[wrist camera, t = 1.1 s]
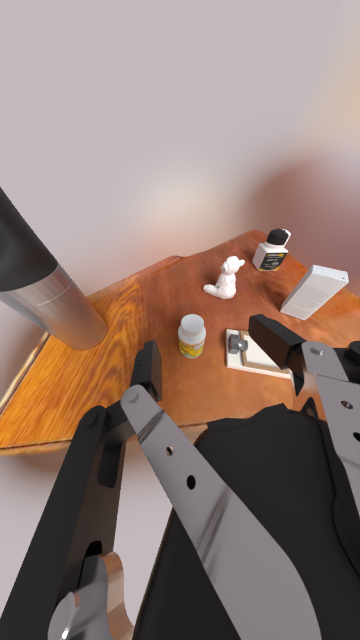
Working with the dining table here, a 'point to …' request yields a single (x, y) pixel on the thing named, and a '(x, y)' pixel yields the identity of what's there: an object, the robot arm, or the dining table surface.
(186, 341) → the supplement bottle
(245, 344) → the shaft stubs
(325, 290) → the skincare box
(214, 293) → the white creature statuette
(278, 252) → the medicine bottle
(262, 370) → the coupling board
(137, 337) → the dining table surface
